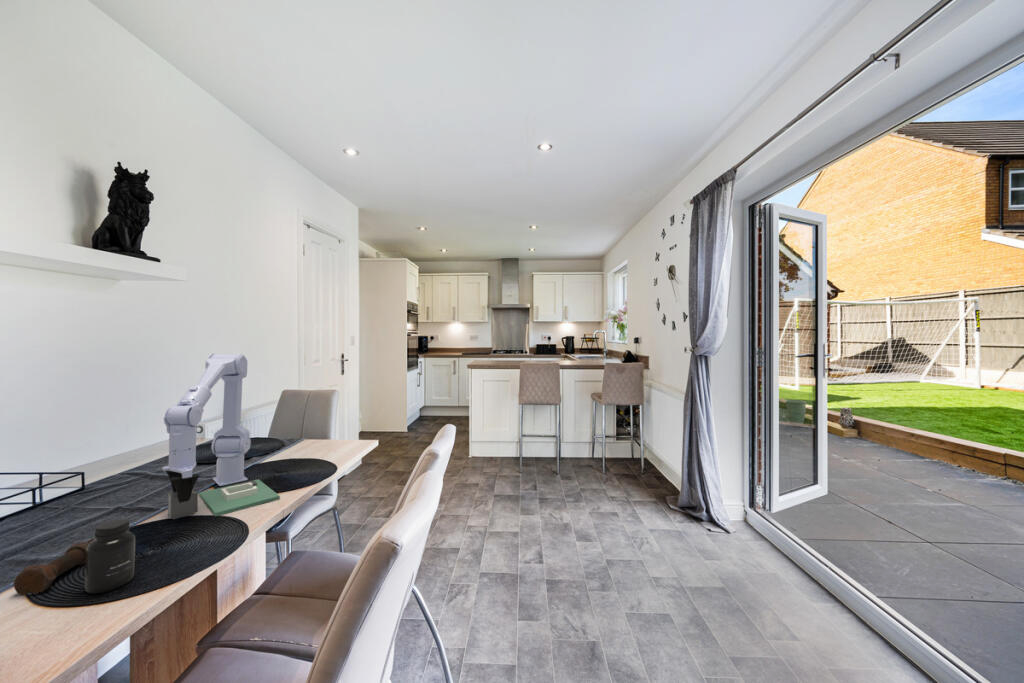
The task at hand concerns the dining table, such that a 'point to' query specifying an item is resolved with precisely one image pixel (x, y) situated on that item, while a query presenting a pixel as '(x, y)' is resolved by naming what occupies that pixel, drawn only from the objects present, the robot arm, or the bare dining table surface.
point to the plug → (182, 505)
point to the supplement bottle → (110, 557)
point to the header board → (238, 497)
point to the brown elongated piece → (49, 570)
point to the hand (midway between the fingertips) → (181, 497)
